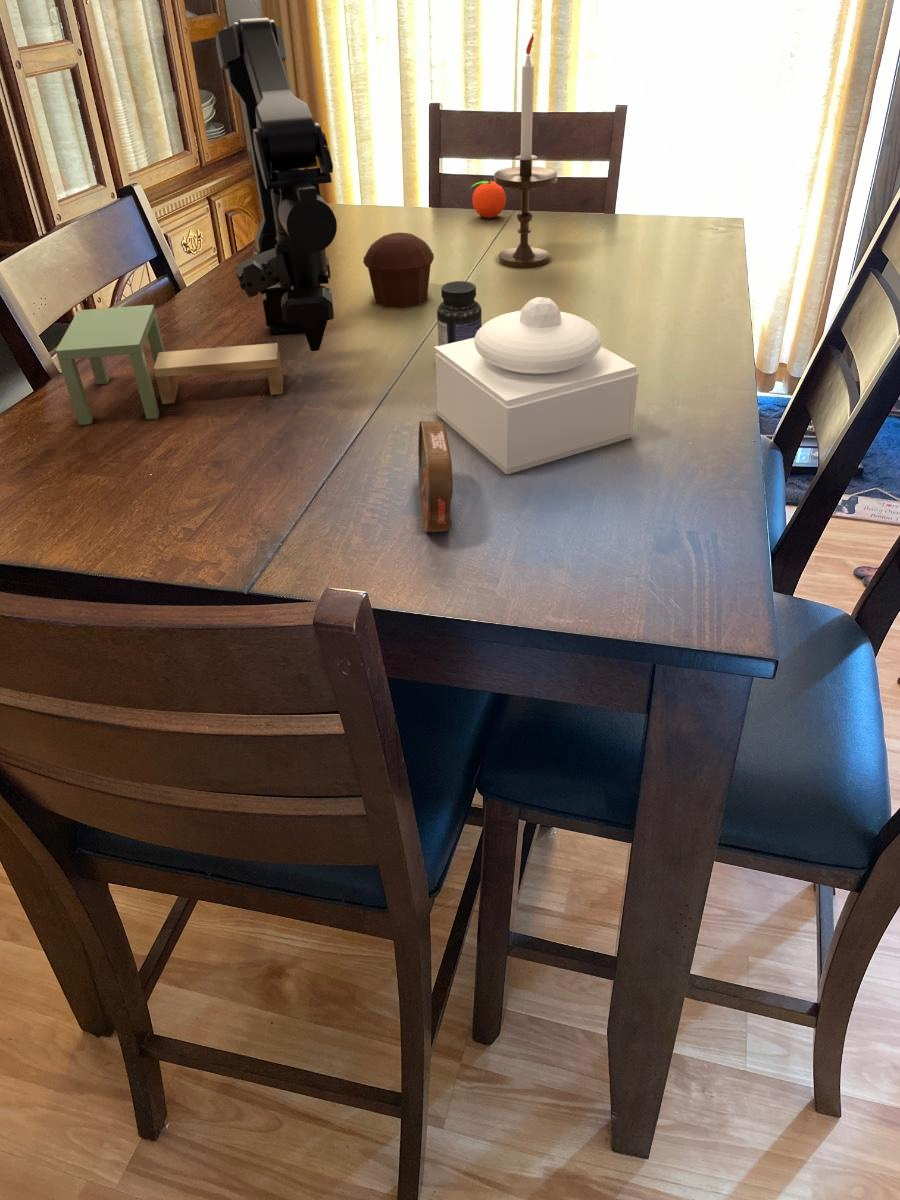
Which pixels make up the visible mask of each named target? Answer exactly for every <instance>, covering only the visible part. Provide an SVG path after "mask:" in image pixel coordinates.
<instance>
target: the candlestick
mask: <svg viewBox="0 0 900 1200" xmlns="http://www.w3.org/2000/svg"><path fill="white" fill-rule="evenodd" d="M534 40H535V37H534V32H532V33H531V37H530V39H529V40H528V43H527V46H526V49H525V51H526V56H525V57H526V59H525V62H524V65H522V66H521V67H522V68H521V113H520V114H521V115H520V124H521V125H520V154H519V155H515V156H514V159H515V160H518V161H519V166H514V167H507V168H502V169H500V170H497V171H495V172H494V175H493V181H494V182H495V183H496V184H498V185H500V186H501V187H504V188H510V189H511V188H512V189H517V190H518V191H520V193H521V194H520V197H521V198H520V205H521V206H520V212H519V213H517V214H516V218H517V219H516V220H517V221H518V222H519V228H517V233H518V234H520V242H519V244H518V245H517V247H510V248H506V249H504V250H502V251H500V252H499V253H498V261H499V263H500V264H502V265H504V266H507V267H511V268H519V269H520V268H521V269H522V268H535V267H540V266H543V265H545V264H547V263H548V262H549V260H550V259H549V258H550V257H549V256H550V254H549V252H548V251H547V250H545V249H543V248H540V247H539V248H538V247H532V246H530V244H529V234H530V233H532V229H531V228H530V222H531V221H532V219H533V213H531V212H530V209H529V207H530V191H532V190H533V189H536V188H537V189H538V188H545V187H548V186H553V185H554V184H556V183H557V182H558V172H557V171H556V170H554V169H552V168H547V167H542V166H533V160H537V159H538V158H539V157H538V156H537V155H534V154H533V120H534V119H533V116H534V111H533V110H534V81H535V80H534V79H535V77H534V75H535V66H534V65H532V60H531V52H532V48H533V42H534Z"/></svg>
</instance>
